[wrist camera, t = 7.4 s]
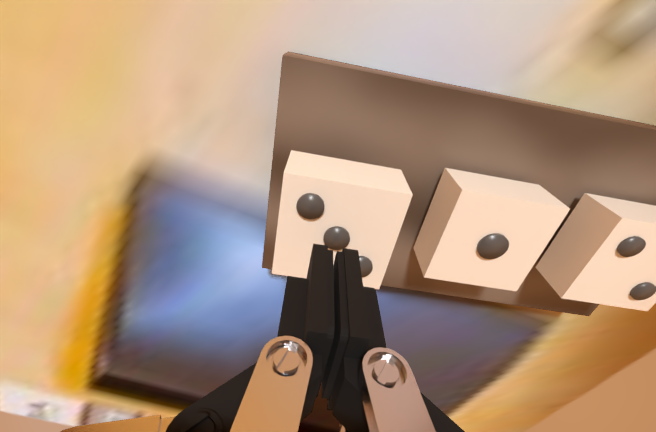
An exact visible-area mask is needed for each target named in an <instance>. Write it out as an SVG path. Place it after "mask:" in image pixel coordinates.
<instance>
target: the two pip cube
mask: <svg viewBox="0 0 656 432" xmlns="http://www.w3.org/2000/svg"><path fill="white" fill-rule="evenodd" d="M536 269H537V270H538V271H539V272H540V273H541V275H542V276H543V277H544V278H545V279H546V281H547V282H548V283H549V284H550V285H551V287H552V288H553V289H554V290H555V291H556V293H557V294H558V295H559V296H560V297H561V298H563V299H570V300H576V301H583V302H589V303H596V304H603V305H609V306H616V307H622V308H629V309H636V310H642V311H648V310H649V309H650V308H651V307H652V306H653V305H654V304H655V303H656V206H655V205H649V204H643V203H638V202H632V201H627V200H621V199H616V198H610V197H605V196H599V195H594V194H588V193H584V195H583V196H582V198H581V199H580V201H579V202H578V204H577V205H576V207H575V208H574V210H573V211H572V213H571V214H570V216H569V217H568V219H567V220H566V222H565V223H564V225H563V226H562V228H561V229H560V231H559V232H558V234H557V235H556V237H555V238H554V240H553V242H552V243H551V245H550V246H549V248H548V249H547V251H546V252H545V254H544V255H543V257H542V258H541V260H540V261H539V263H538V264H537V266H536Z"/></svg>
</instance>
